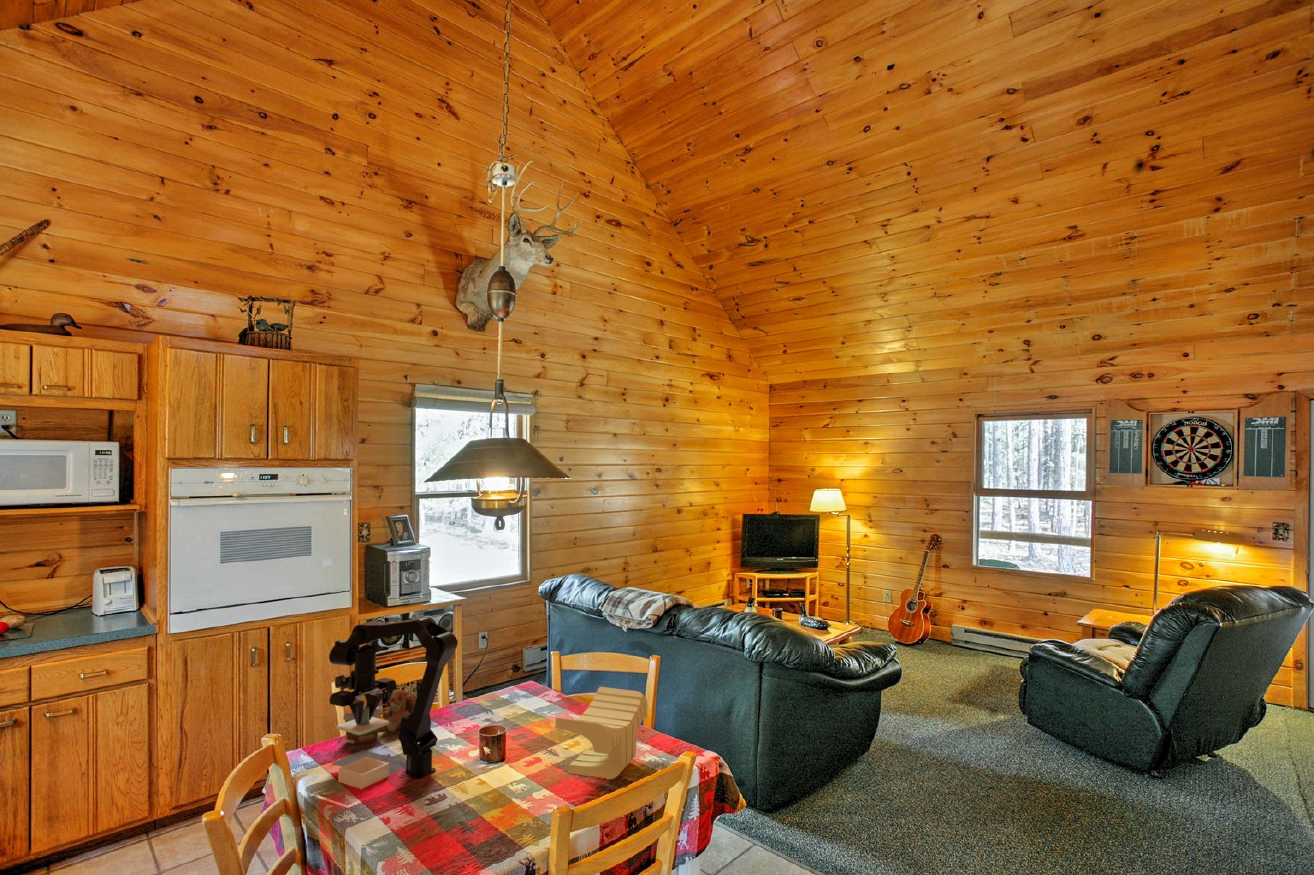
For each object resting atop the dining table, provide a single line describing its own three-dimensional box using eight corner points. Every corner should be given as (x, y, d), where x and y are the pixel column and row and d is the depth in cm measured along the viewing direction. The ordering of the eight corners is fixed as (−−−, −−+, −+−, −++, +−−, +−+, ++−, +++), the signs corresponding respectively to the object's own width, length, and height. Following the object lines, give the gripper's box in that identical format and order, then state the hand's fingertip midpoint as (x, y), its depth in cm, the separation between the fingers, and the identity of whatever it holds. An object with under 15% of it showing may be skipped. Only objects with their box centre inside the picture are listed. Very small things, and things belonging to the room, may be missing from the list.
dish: (388, 778, 187) (389, 763, 187) (361, 791, 179) (361, 775, 179) (366, 771, 191) (366, 756, 192) (338, 783, 183) (338, 768, 184)
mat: (389, 759, 200) (389, 757, 200) (357, 773, 190) (357, 770, 190) (363, 751, 205) (363, 749, 205) (331, 765, 195) (331, 762, 195)
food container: (352, 750, 205) (353, 716, 206) (341, 745, 209) (343, 712, 210) (390, 738, 215) (391, 706, 216) (379, 734, 219) (380, 702, 220)
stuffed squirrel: (372, 734, 219) (374, 692, 220) (402, 719, 232) (403, 680, 233) (398, 738, 216) (399, 695, 217) (426, 723, 229) (428, 683, 230)
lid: (389, 723, 199) (389, 705, 199) (359, 735, 190) (360, 715, 190) (365, 718, 203) (366, 700, 204) (336, 728, 195) (336, 709, 195)
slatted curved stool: (608, 794, 179) (609, 725, 180) (554, 785, 184) (555, 717, 186) (646, 752, 208) (647, 692, 209) (598, 744, 213) (599, 686, 214)
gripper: (372, 656, 210) (371, 708, 209) (317, 670, 193) (315, 727, 192) (398, 660, 204) (396, 714, 203) (344, 676, 188) (341, 734, 187)
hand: (363, 721), depth 197 cm, fingers closed on lid, 3 cm apart
